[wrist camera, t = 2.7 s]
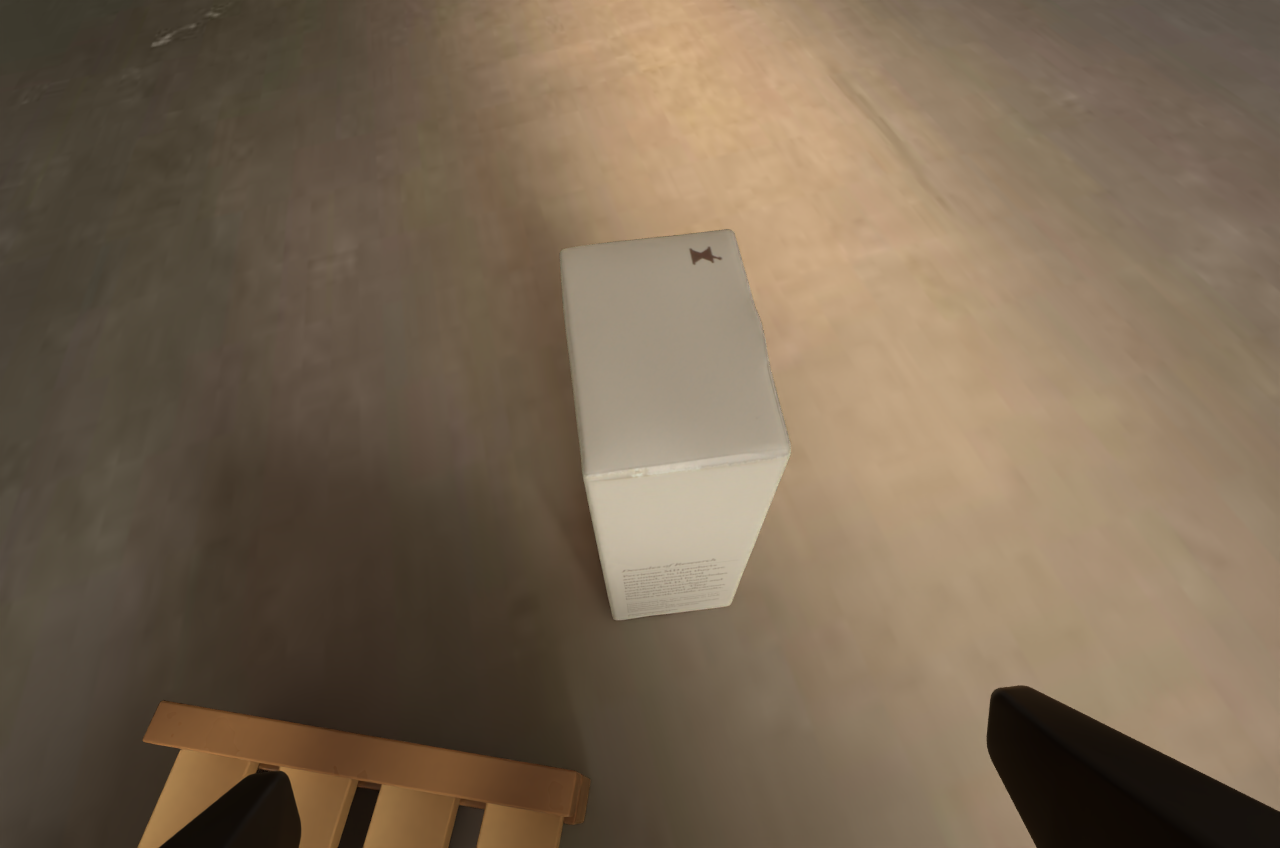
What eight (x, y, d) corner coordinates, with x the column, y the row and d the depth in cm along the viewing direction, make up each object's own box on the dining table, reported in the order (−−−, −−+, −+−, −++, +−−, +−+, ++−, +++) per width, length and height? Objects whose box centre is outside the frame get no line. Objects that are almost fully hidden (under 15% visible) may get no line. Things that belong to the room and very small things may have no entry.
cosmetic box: (592, 468, 26) (554, 239, 16) (703, 454, 26) (739, 219, 16) (609, 629, 23) (577, 479, 13) (734, 612, 23) (804, 451, 13)
